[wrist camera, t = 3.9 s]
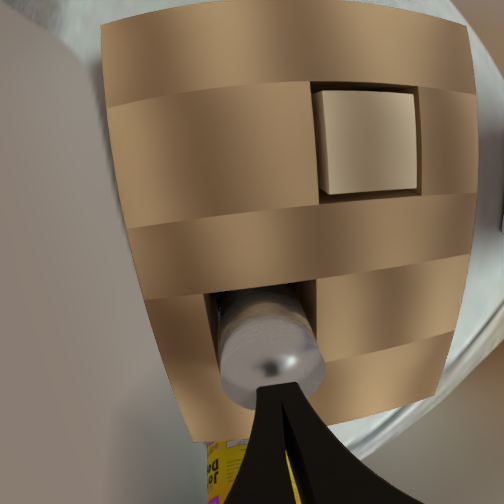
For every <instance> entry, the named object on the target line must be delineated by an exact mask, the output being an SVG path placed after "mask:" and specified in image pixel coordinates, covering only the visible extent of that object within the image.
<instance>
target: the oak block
mask: <svg viewBox="0 0 504 504" xmlns="http://www.w3.org/2000/svg"><path fill="white" fill-rule="evenodd" d="M101 51H102V67H103V80H104V92H105V102H106V111H107V120H108V128H109V135H110V143H111V149H112V156H113V162H114V169H115V175H116V180H117V186H118V191H119V197H120V202H121V207H122V212H123V217H124V222H125V226H126V231H127V235H128V240H129V244H130V248H131V253H132V257H133V261H134V265H135V269H136V273H137V277H138V281H139V284H140V288H141V292H142V295H143V299H144V302H145V306H146V309H147V313H148V316H149V320H150V323H151V326H152V329H153V333H154V336H155V339H156V342H157V345H158V349H159V352H160V355H161V357H162V361H163V363H164V366H165V369H166V372H167V375H168V378H169V380H170V384H171V386H172V389H173V392H174V394H175V397H176V400H177V402H178V405H179V408H180V410H181V413H182V415H183V418H184V420H185V423H186V425H187V428H188V430H189V433H190V435H191V438H192V440H193V442H213V441H227V440H238V439H248V438H250V434H251V430H252V425H253V421H254V415H255V411H254V410H250V409H246V408H243V407H241V406H239V405H237V404H236V403H234V402H233V401H231V400H230V399H229V398H228V397H227V395H226V394H225V393H224V391H223V389H222V386H221V380H220V318H219V313H218V307H217V301H216V296H215V292H222V291H230V290H238V289H246V288H254V287H262V286H270V285H277V284H285V283H292V282H296V294H297V296H298V298H299V300H300V303H301V305H302V308H303V310H304V312H305V315H306V317H307V320H308V322H309V324H310V327H311V329H312V332H313V334H314V337H315V339H316V342H317V344H318V346H319V349H320V351H321V354H322V356H323V359H324V362H325V375H324V378H323V381H322V383H321V385H320V386H319V388H318V389H317V390H316V391H315V392H314V393H313V394H312V395H311V396H310V397H309V398H307V400H308V401H309V403H310V404H311V406H312V407H313V409H314V410H315V412H316V413H317V414H318V416H319V417H320V418H321V420H322V421H323V422H324V423H325V425H326V426H329V425H333V424H338V423H342V422H347V421H351V420H355V419H359V418H363V417H367V416H370V415H374V414H378V413H381V412H385V411H388V410H391V409H395V408H398V407H401V406H404V405H408V404H411V403H414V402H417V401H420V400H423V399H425V398H428V397H431V396H434V394H435V391H436V389H437V386H438V383H439V380H440V377H441V374H442V371H443V368H444V365H445V362H446V359H447V356H448V352H449V349H450V346H451V342H452V339H453V335H454V331H455V327H456V324H457V320H458V316H459V311H460V307H461V303H462V298H463V293H464V289H465V284H466V278H467V273H468V267H469V261H470V255H471V248H472V241H473V233H474V224H475V214H476V203H477V188H478V159H479V141H478V113H477V98H476V87H475V78H474V69H473V62H472V55H471V49H470V43H469V37H468V32H467V27H466V26H465V25H462V24H459V23H455V22H452V21H448V20H445V19H441V18H438V17H434V16H430V15H426V14H421V13H417V12H413V11H408V10H403V9H398V8H393V7H387V6H381V5H374V4H367V3H360V2H351V1H341V0H227V1H217V2H208V3H200V4H193V5H186V6H180V7H174V8H169V9H164V10H159V11H154V12H149V13H145V14H141V15H136V16H132V17H128V18H125V19H121V20H117V21H114V22H110V23H107V24H103V25H101ZM320 91H373V92H391V93H404V94H413V96H414V109H415V125H416V152H417V188H412V189H395V190H380V191H367V192H354V193H342V194H328V193H327V192H325V191H323V190H322V189H320V188H319V187H318V177H317V161H316V147H315V134H314V122H313V111H312V101H311V93H317V92H320Z"/></svg>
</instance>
